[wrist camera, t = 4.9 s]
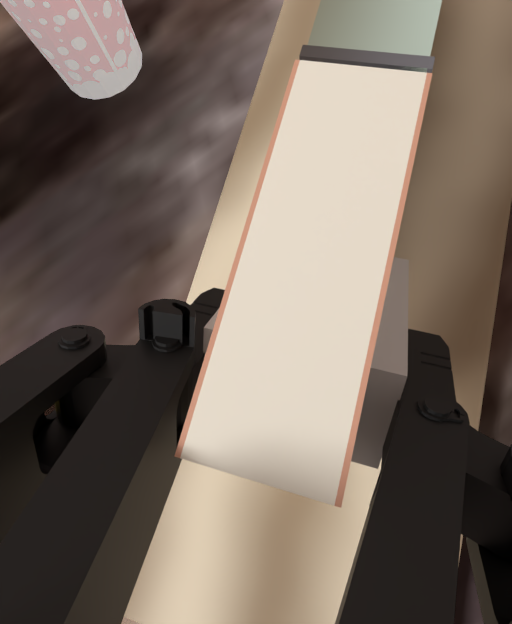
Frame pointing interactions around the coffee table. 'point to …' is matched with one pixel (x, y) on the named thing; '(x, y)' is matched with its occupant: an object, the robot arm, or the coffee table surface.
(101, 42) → the beverage cup
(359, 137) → the lidded box
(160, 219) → the coffee table surface
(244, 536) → the upright slab on base
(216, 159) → the coffee table surface
